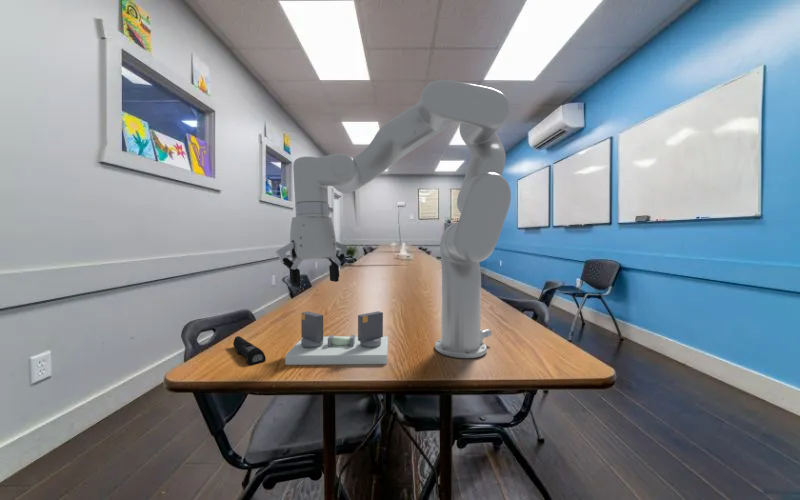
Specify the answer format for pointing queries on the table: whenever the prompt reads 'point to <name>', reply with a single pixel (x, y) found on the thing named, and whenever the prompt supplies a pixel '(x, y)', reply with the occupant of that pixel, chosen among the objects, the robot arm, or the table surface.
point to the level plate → (338, 352)
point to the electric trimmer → (249, 351)
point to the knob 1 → (311, 329)
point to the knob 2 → (370, 329)
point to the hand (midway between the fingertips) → (316, 283)
